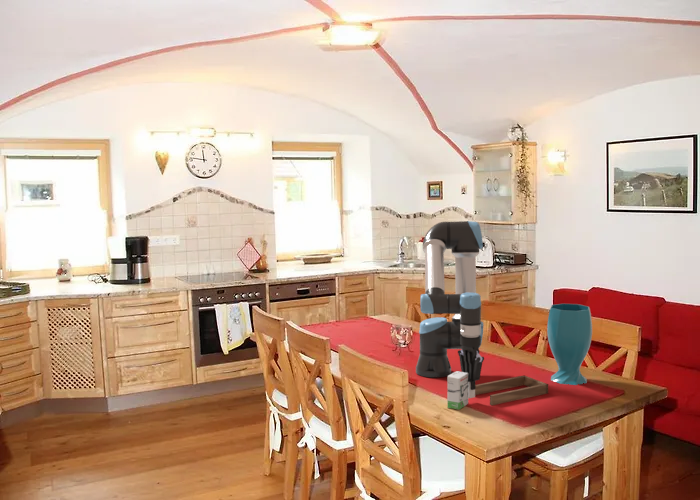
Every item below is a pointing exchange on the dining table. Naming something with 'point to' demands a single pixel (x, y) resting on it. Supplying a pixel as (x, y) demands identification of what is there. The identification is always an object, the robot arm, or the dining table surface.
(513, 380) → the walnut frame
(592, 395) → the dining table surface
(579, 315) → the vase
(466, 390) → the ink box
